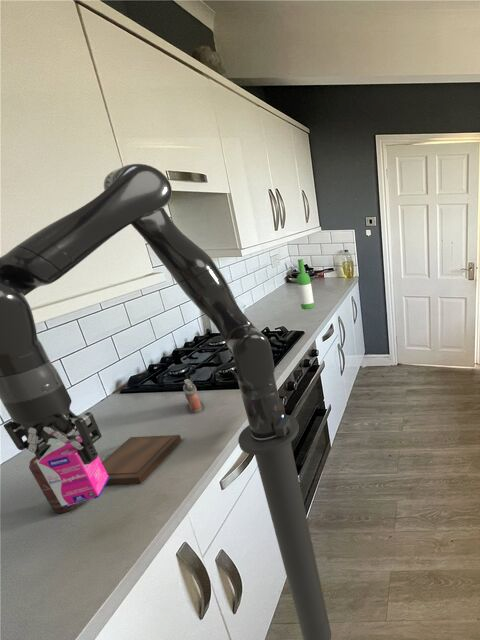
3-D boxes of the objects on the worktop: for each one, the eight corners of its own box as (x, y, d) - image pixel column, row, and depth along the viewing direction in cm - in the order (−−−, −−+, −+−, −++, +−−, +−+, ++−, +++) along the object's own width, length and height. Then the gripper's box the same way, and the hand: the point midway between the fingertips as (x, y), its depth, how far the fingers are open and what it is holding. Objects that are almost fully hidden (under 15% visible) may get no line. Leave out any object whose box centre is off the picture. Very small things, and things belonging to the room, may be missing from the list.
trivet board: (181, 440, 101) (179, 434, 100) (141, 483, 86) (138, 476, 85) (132, 442, 101) (130, 436, 100) (83, 486, 86) (80, 479, 85)
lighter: (187, 404, 119) (179, 378, 115) (198, 400, 121) (190, 375, 117) (192, 414, 113) (183, 388, 109) (204, 410, 115) (195, 383, 112)
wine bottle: (298, 308, 214) (290, 260, 203) (308, 305, 220) (301, 258, 209) (307, 310, 210) (299, 261, 199) (317, 307, 216) (310, 259, 205)
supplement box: (61, 509, 67) (34, 463, 62) (75, 487, 72) (51, 443, 68) (99, 498, 69) (75, 452, 65) (110, 477, 74) (89, 434, 70)
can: (76, 513, 79) (50, 464, 74) (46, 515, 78) (18, 466, 73) (97, 491, 84) (75, 445, 79) (70, 493, 84) (45, 447, 79)
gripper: (92, 376, 65) (123, 446, 71) (13, 380, 65) (52, 450, 71) (53, 399, 58) (92, 475, 64) (-35, 403, 58) (12, 479, 64)
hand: (71, 462), depth 67 cm, fingers closed on supplement box, 7 cm apart
